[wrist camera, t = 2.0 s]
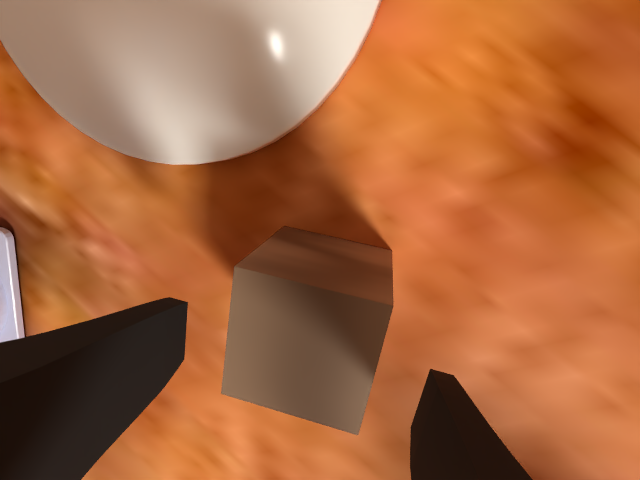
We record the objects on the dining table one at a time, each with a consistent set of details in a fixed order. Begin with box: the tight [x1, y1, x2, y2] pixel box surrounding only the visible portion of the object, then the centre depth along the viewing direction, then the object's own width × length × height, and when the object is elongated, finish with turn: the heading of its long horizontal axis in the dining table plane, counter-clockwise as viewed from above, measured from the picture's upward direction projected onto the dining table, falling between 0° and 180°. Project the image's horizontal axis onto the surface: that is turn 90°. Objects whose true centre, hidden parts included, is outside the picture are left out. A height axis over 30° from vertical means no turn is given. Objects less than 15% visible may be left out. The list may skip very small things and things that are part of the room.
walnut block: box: [221, 226, 393, 435], centre depth 13 cm, size 5×5×5 cm
